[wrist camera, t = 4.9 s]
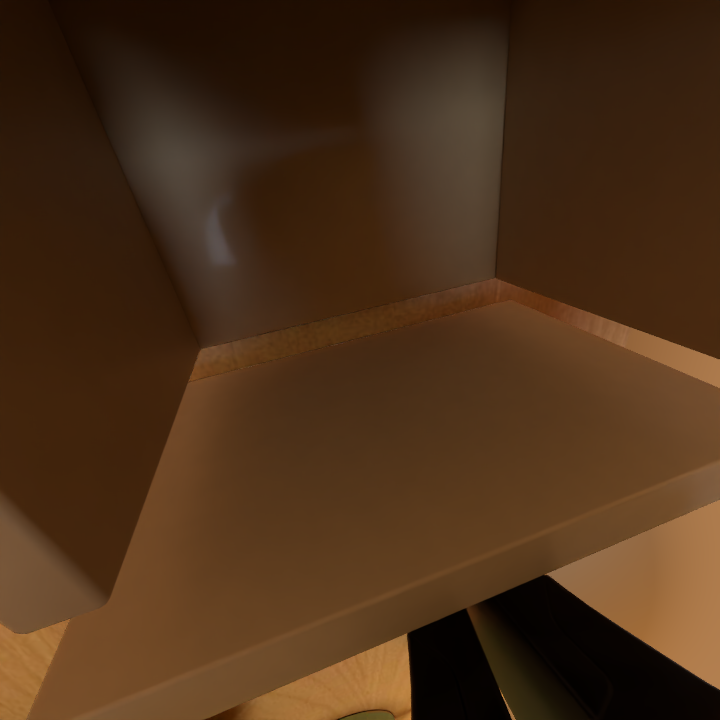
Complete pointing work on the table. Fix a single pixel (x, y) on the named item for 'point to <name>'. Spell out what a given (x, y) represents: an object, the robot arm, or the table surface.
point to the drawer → (329, 299)
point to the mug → (371, 716)
